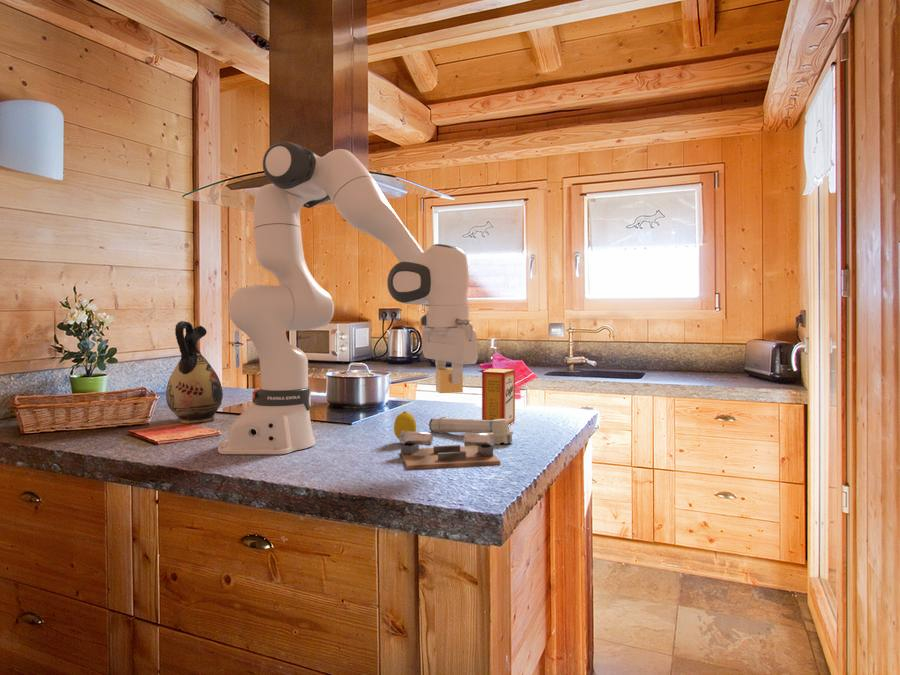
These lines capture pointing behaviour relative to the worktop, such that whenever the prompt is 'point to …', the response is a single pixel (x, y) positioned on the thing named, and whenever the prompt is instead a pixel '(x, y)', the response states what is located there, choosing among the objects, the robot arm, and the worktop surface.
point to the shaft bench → (447, 457)
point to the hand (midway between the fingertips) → (449, 381)
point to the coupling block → (447, 381)
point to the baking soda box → (498, 394)
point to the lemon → (404, 423)
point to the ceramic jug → (193, 380)
